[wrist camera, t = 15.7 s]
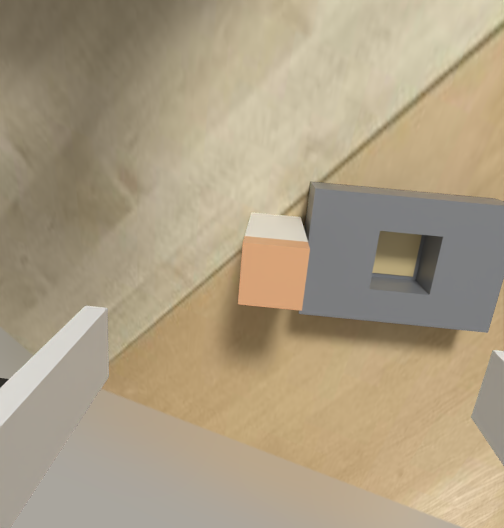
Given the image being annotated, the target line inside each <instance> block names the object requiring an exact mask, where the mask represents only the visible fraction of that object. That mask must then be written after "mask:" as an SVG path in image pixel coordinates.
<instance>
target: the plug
mask: <svg viewBox="0 0 504 528" xmlns="http://www.w3.org/2000/svg"><path fill="white" fill-rule="evenodd" d="M309 253H310V247H309V244H308V240H307V237H306V233H305V230H304V227H303V223H302V220H301V217H296V216H286V215H275V214H264V213H253V212H251V216H250V219H249V223H248V226H247V230H246V233H245V237H244V240H243V246H242V259H241V271H240V284H239V296H238V304H240V305H250V306H260V307H270V308H280V309H290V310H301V311H302V306H303V299H304V291H305V283H306V276H307V268H308V261H309Z"/></svg>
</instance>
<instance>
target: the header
mask: <svg viewBox="0 0 504 528" xmlns="http://www.w3.org/2000/svg"><path fill="white" fill-rule="evenodd" d="M305 233H306V237H307V240H308V244H309V247H310V253H309V261H308V268H307V276H306V283H305V291H304V299H303V306H302V311H301V310H298V311H299V314H306V315H316V316H326V317H336V318H346V319H356V320H366V321H376V322H386V323H397V324H407V325H417V326H427V327H437V328H447V329H457V330H467V331H477V332H487V333H488V330H489V327H490V324H491V320H492V317H493V313H494V310H495V306H496V303H497V299H498V296H499V292H500V289H501V285H502V282H503V279H504V201H501V200H497V199H493V198H482V197H471V196H460V195H450V194H439V193H428V192H417V191H406V190H395V189H384V188H374V187H363V186H352V185H341V184H330V183H319V182H311V183H310V191H309V198H308V206H307V214H306V222H305Z"/></svg>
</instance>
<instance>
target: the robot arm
mask: <svg viewBox="0 0 504 528" xmlns="http://www.w3.org/2000/svg"><path fill="white" fill-rule="evenodd" d="M108 377H109V361H108V308H104V307H94V306H84V307H83V308H82V309H81V310H80V311H79V312H78V313H77V314H76V315H75V316H74V317H73V318H72V319H71V320H70V321H69V322H68V323H67V324H66V325H65V326H64V327H63V328H62V329H61V330H60V331H59V332H58V333H56V334H55V335H54V336H53V337H52V338H51V339H50V340H49V341H48V342H47V343H46V344H45V345H44V346H43V347H42V348H41V349H40V350H39V351H38V352H37V353H36V354H35V355H34V356H33V357H32V358H31V359H30V360H29V361H28V362H27V363H26V364H25V365H23V366H22V367H21V369H19V370H18V371H17V372H16V373H15V374H14V375H13V376H12V377H11V378H10V379H4V378H0V528H11V526H12V525H13V523H14V522H15V520H16V519H17V517H18V516H19V514H20V512H21V511H22V509H23V508H24V506H25V505H26V503H27V502H28V500H29V499H30V497H31V496H32V494H33V492H34V491H35V489H36V488H37V486H38V485H39V483H40V481H41V480H42V479H43V477H44V476H45V474H46V473H47V471H48V470H49V468H50V466H51V465H52V463H53V462H54V460H55V459H56V457H57V456H58V454H59V452H60V451H61V450H62V448H63V446H64V445H65V443H66V442H67V440H68V439H69V437H70V436H71V434H72V432H73V431H74V430H75V428H76V426H77V425H78V423H79V422H80V420H81V419H82V417H83V416H84V414H85V413H86V411H87V409H88V408H89V406H90V405H91V403H92V402H93V400H94V398H95V397H96V396H97V394H98V392H99V391H100V390H101V388H102V387H103V385H104V383H105V382H106V380H107V379H108ZM471 418H472V419H473V421H474V422H475V424H476V425H477V427H478V428H479V430H480V431H481V433H482V434H483V436H484V437H485V439H486V440H487V442H488V443H489V445H490V446H491V448H492V449H493V451H494V452H495V454H496V455H497V457H498V458H499V460H500V461H501V463H502V464H503V466H504V351H498V350H493V351H492V354H491V357H490V360H489V363H488V366H487V370H486V373H485V376H484V379H483V382H482V385H481V388H480V391H479V394H478V397H477V401H476V404H475V407H474V410H473V413H472V416H471Z"/></svg>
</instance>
